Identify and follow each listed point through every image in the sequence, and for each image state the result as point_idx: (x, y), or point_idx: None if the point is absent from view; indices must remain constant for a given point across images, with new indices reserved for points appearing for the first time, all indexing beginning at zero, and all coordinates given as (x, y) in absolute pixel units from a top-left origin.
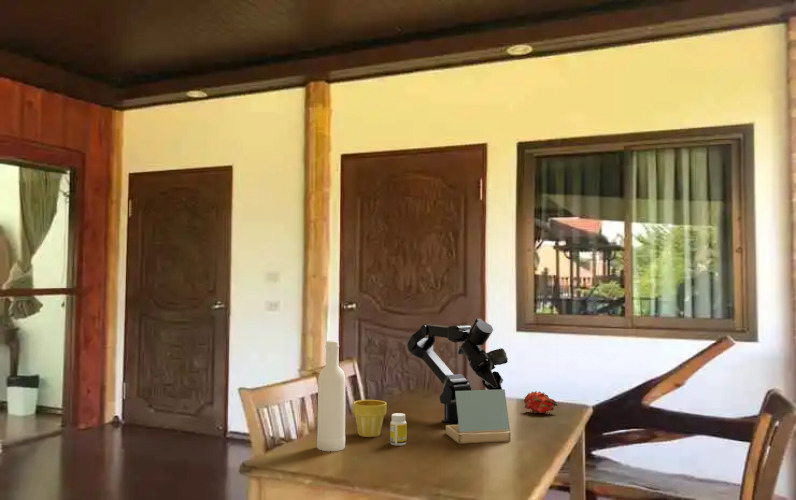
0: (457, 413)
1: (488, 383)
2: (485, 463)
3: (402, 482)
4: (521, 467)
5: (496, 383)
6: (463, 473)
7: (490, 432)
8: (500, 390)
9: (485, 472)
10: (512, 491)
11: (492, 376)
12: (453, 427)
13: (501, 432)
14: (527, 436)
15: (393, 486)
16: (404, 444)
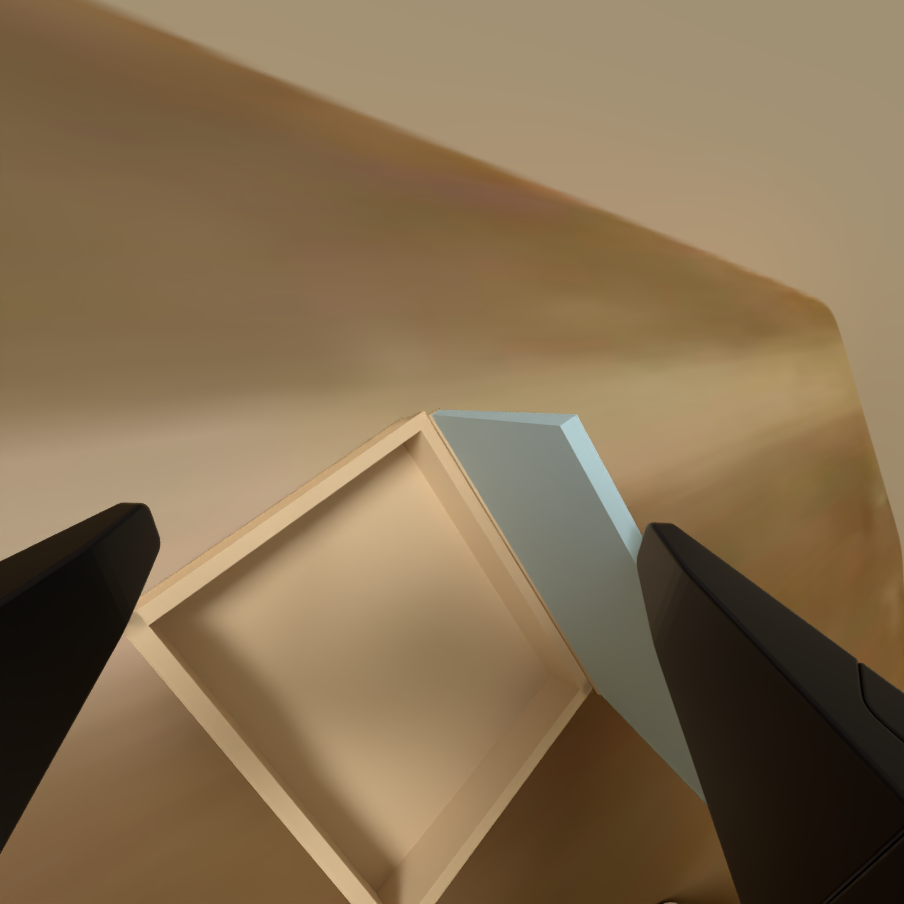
0: (676, 771)
1: (679, 708)
2: (725, 456)
3: (882, 613)
4: (715, 332)
5: (694, 542)
6: (803, 494)
7: (232, 609)
8: (603, 472)
9: (779, 435)
10: (837, 346)
11: (833, 659)
12: (367, 889)
13: (445, 468)
14: (215, 318)
15: (899, 616)
16: (669, 902)
